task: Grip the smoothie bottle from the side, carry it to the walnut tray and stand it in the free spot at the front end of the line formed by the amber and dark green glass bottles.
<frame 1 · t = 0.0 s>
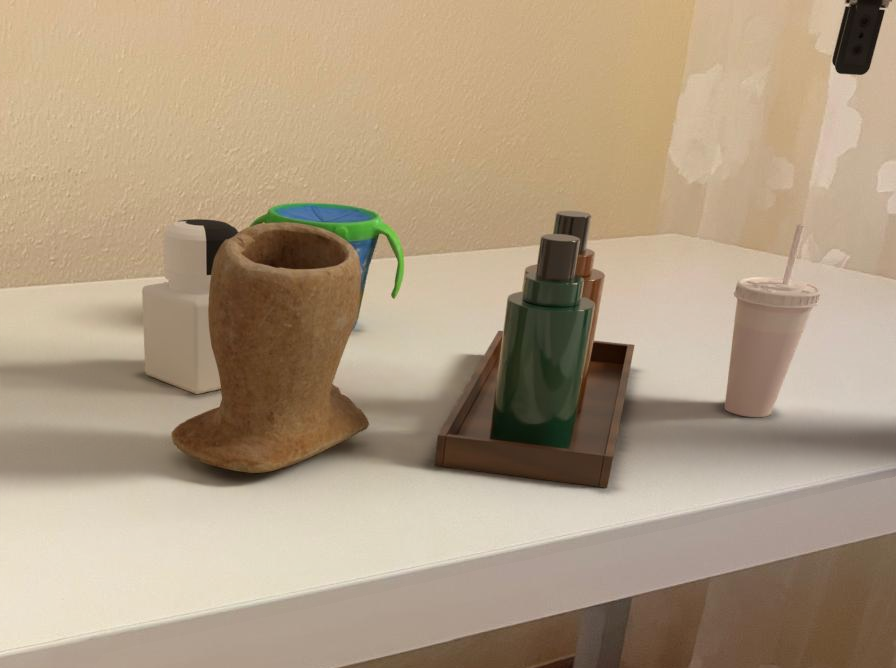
hand: (848, 70, 85), 24 cm above the table, tool pointing down, fingers open, 8 cm apart
green bottle: (529, 443, 88), resting on tray
amber bottle: (544, 404, 96), resting on tray
smoothie: (746, 412, 99), on the table
medicine bottle: (203, 380, 101), on the table
tray: (543, 412, 96), on the table
stone cup: (282, 456, 86), on the table
snack cup: (318, 328, 116), on the table
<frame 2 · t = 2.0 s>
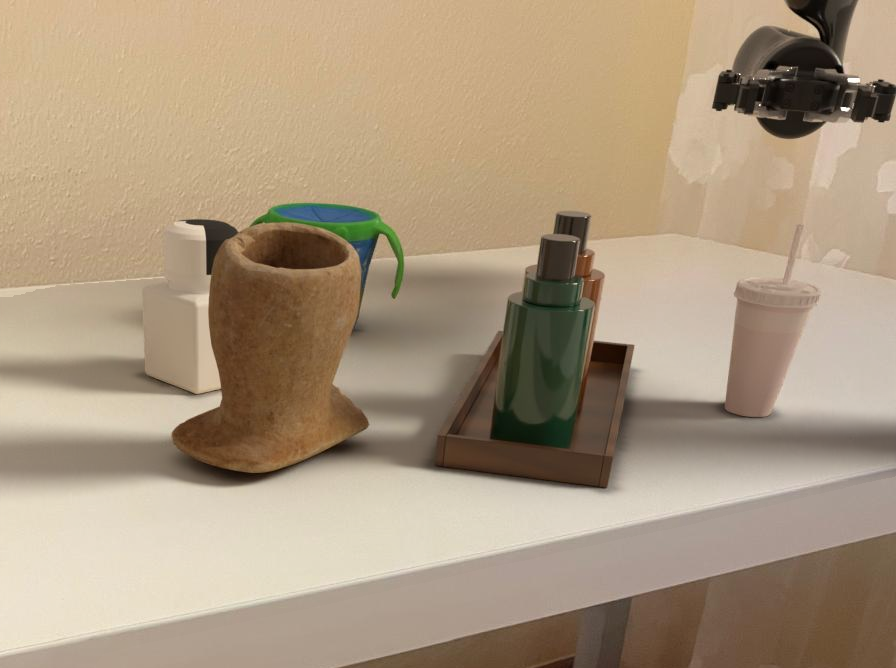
hand: (807, 103, 95), 21 cm above the table, tool horizontal, fingers open, 8 cm apart
nothing on the table moved.
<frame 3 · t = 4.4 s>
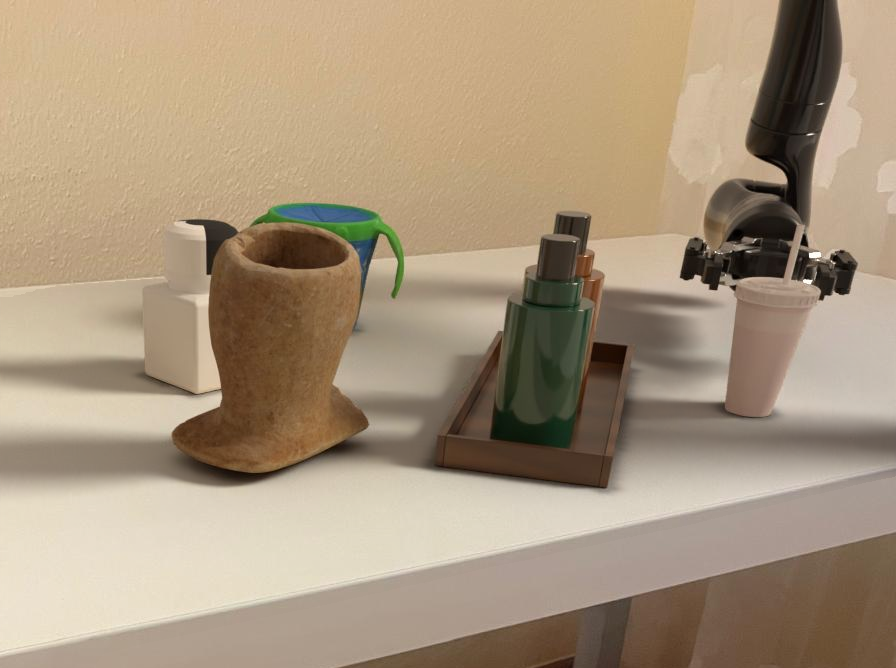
hand: (769, 282, 99), 9 cm above the table, tool horizontal, fingers open, 8 cm apart
nothing on the table moved.
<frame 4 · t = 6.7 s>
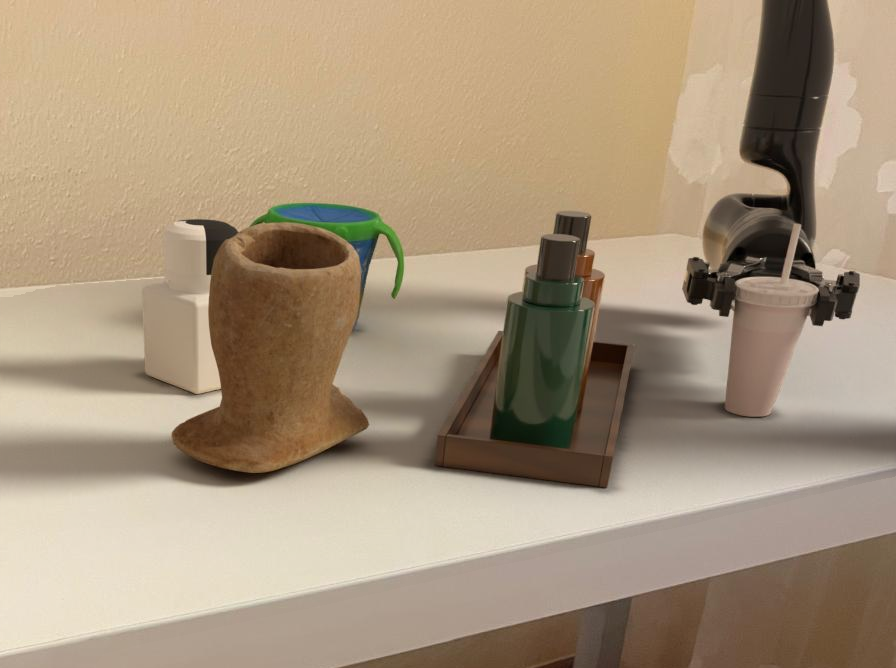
hand: (774, 307, 92), 9 cm above the table, tool horizontal, fingers closed on smoothie, 6 cm apart
smoothie: (747, 412, 99), on the table, touching gripper
everything else where it was.
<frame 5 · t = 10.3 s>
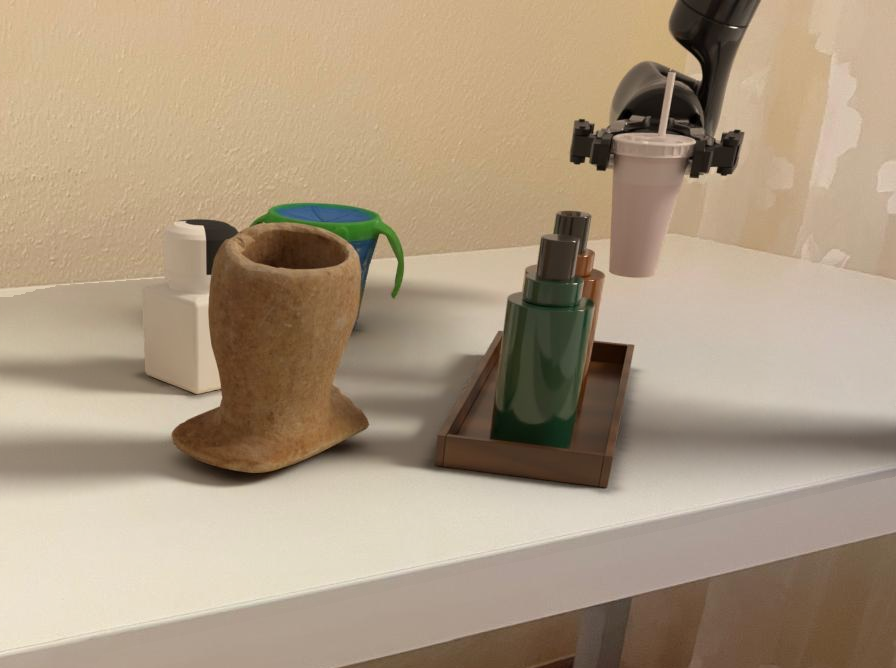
hand: (650, 159, 91), 18 cm above the table, tool horizontal, fingers closed on smoothie, 6 cm apart
smoothie: (631, 274, 98), point 9 cm above the table, touching gripper
everything else where it was.
when the fingers open (9 cm above the table, at t = 13.9 s): smoothie stays where it is, resting on tray.
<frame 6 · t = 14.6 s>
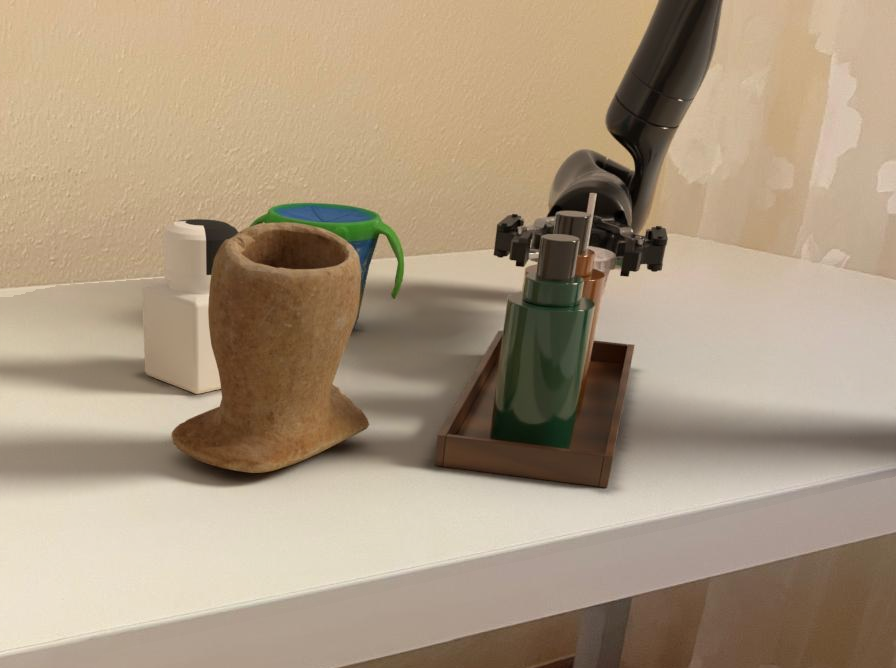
hand: (573, 258, 97), 10 cm above the table, tool horizontal, fingers open, 8 cm apart
smoothie: (558, 373, 104), resting on tray
everything else where it was.
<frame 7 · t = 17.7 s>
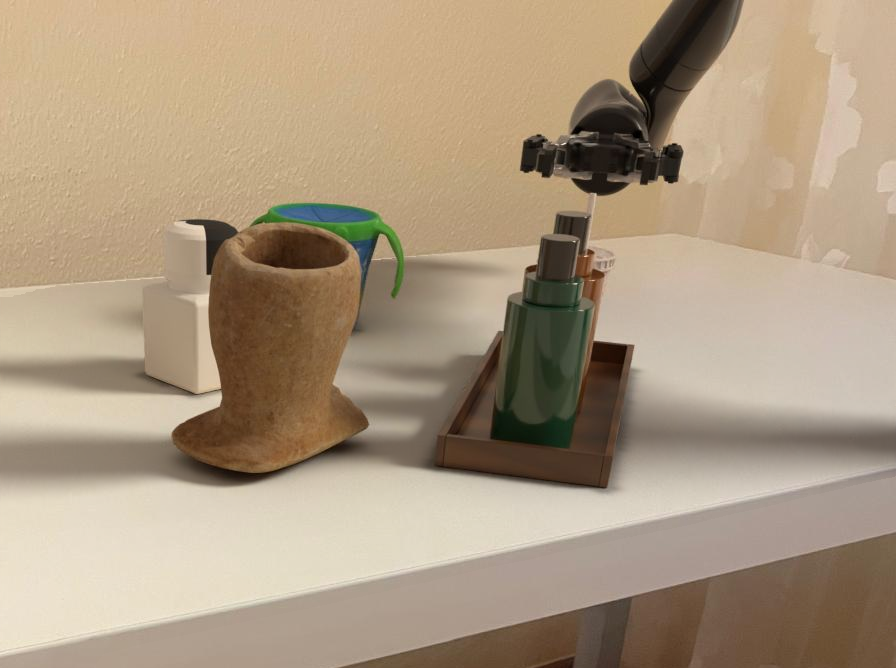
hand: (596, 168, 104), 15 cm above the table, tool horizontal, fingers open, 8 cm apart
nothing on the table moved.
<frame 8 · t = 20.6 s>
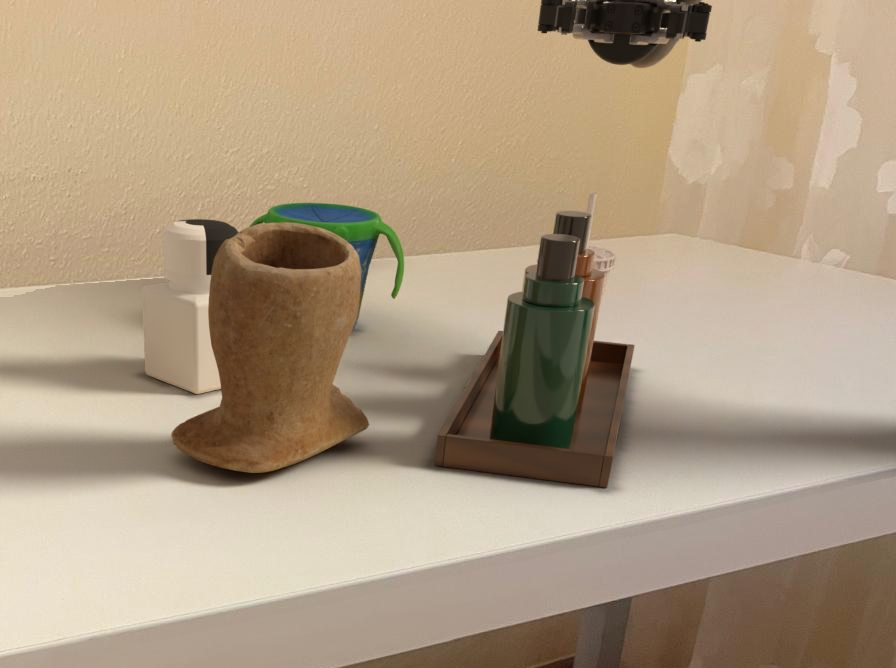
hand: (619, 20, 98), 26 cm above the table, tool horizontal, fingers open, 8 cm apart
nothing on the table moved.
at the end: smoothie 0.2 cm from the target spot on the tray, point 0.4 cm above the tray's base; smoothie tilted 0°; the gripper is holding nothing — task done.
